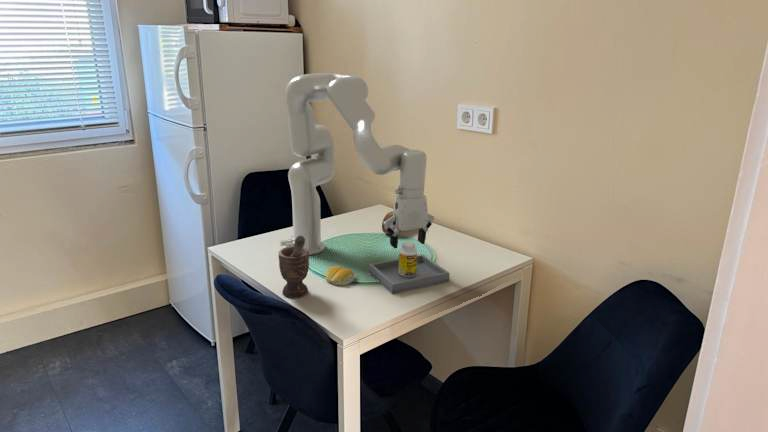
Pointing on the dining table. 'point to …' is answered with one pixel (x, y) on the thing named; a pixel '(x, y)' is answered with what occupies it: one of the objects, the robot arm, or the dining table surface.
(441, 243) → the dining table surface
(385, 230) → the tin
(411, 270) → the supplement bottle
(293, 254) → the mortar and pestle
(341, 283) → the bread roll
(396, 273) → the tray
